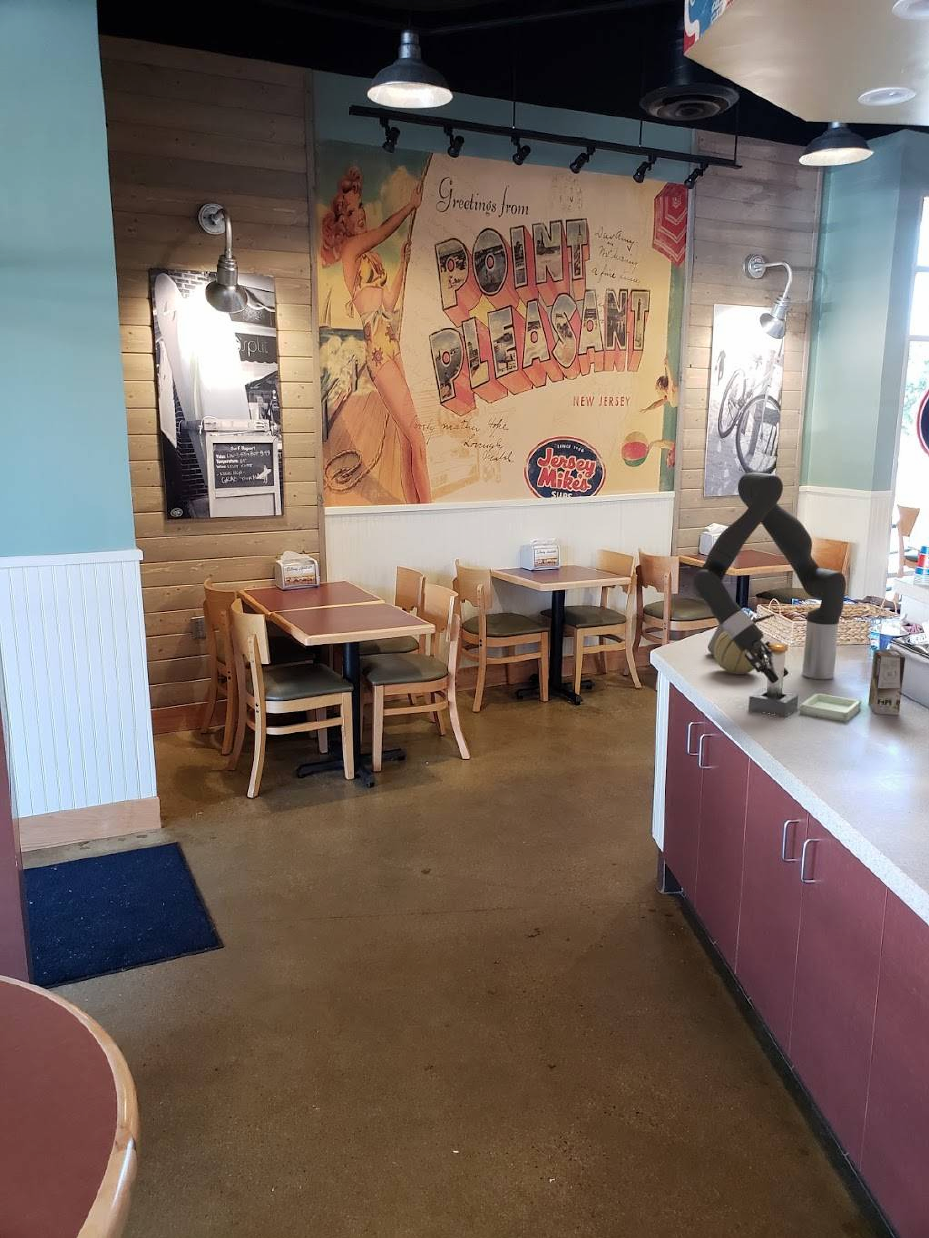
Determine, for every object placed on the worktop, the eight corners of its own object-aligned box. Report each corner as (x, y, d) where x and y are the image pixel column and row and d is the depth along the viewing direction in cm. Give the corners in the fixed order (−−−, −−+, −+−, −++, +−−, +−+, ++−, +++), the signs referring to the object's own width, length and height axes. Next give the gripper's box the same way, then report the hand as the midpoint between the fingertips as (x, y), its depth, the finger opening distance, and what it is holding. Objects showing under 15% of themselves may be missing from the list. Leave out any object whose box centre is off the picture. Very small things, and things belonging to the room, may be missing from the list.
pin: (767, 705, 263) (772, 642, 259) (785, 708, 260) (790, 645, 256) (760, 709, 259) (765, 645, 255) (778, 713, 256) (784, 648, 252)
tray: (815, 701, 267) (816, 692, 267) (860, 709, 260) (861, 700, 260) (799, 713, 256) (800, 704, 256) (845, 722, 249) (846, 713, 249)
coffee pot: (709, 659, 312) (712, 615, 309) (705, 651, 323) (707, 608, 320) (776, 662, 310) (779, 617, 306) (769, 653, 321) (773, 610, 318)
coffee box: (899, 715, 255) (906, 657, 252) (874, 713, 257) (880, 656, 253) (891, 705, 264) (898, 649, 261) (867, 704, 265) (873, 648, 262)
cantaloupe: (717, 665, 306) (720, 619, 302) (764, 670, 299) (768, 624, 296) (707, 675, 293) (710, 628, 289) (756, 682, 286) (760, 633, 283)
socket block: (761, 701, 266) (762, 688, 266) (797, 708, 261) (798, 694, 260) (748, 710, 259) (749, 696, 258) (784, 717, 253) (786, 702, 252)
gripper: (742, 626, 253) (782, 676, 249) (761, 618, 265) (800, 665, 260) (722, 643, 258) (761, 692, 253) (741, 634, 269) (779, 680, 265)
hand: (780, 678), depth 257 cm, fingers open, 7 cm apart
